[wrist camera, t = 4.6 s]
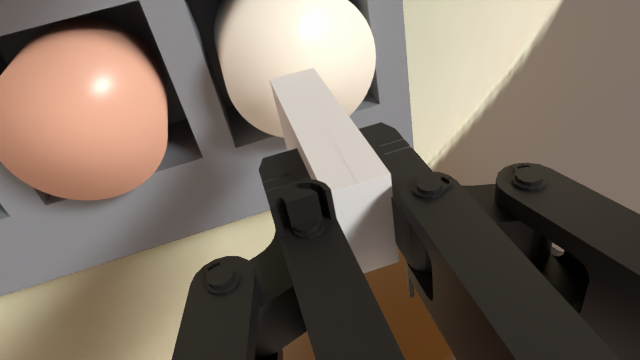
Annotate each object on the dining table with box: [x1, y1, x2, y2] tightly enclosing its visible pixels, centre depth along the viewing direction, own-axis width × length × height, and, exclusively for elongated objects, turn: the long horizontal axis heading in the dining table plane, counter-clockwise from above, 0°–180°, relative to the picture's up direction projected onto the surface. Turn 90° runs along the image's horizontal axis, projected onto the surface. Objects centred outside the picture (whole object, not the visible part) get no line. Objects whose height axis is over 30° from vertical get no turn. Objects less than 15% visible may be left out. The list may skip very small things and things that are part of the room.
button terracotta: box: [0, 17, 168, 200], centre depth 19 cm, size 6×6×4 cm
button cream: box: [214, 0, 376, 137], centre depth 20 cm, size 6×6×4 cm
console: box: [0, 0, 414, 297], centre depth 20 cm, size 15×27×5 cm, turn 101°
